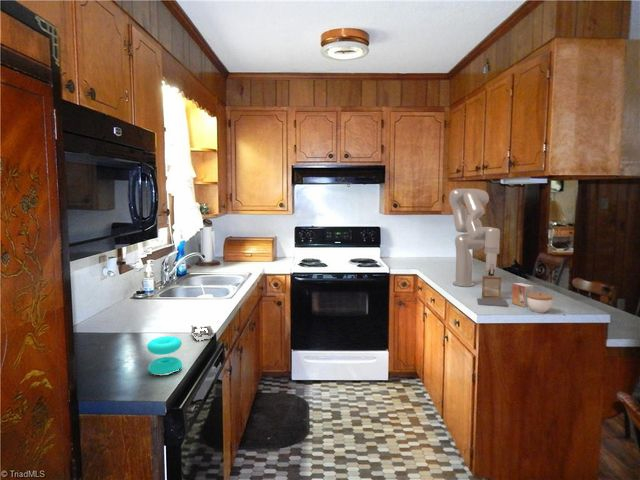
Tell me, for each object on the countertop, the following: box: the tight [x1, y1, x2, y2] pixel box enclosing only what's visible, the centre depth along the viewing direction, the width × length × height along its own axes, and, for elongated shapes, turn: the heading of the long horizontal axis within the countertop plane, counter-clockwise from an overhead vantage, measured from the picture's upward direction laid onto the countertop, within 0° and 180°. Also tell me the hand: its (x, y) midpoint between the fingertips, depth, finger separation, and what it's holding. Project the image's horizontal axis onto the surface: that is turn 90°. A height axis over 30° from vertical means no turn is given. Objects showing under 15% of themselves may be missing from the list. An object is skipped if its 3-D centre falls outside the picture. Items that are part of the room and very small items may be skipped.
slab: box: [481, 275, 502, 300], centre depth 228 cm, size 5×9×12 cm, turn 71°
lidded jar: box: [527, 291, 553, 314], centre depth 203 cm, size 11×11×9 cm
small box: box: [511, 282, 534, 308], centre depth 215 cm, size 8×6×10 cm
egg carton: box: [190, 325, 214, 337], centre depth 167 cm, size 11×8×4 cm
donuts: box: [146, 335, 183, 374], centre depth 133 cm, size 10×10×10 cm
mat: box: [477, 297, 509, 308], centre depth 219 cm, size 12×14×1 cm
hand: (490, 283), depth 235 cm, fingers closed
